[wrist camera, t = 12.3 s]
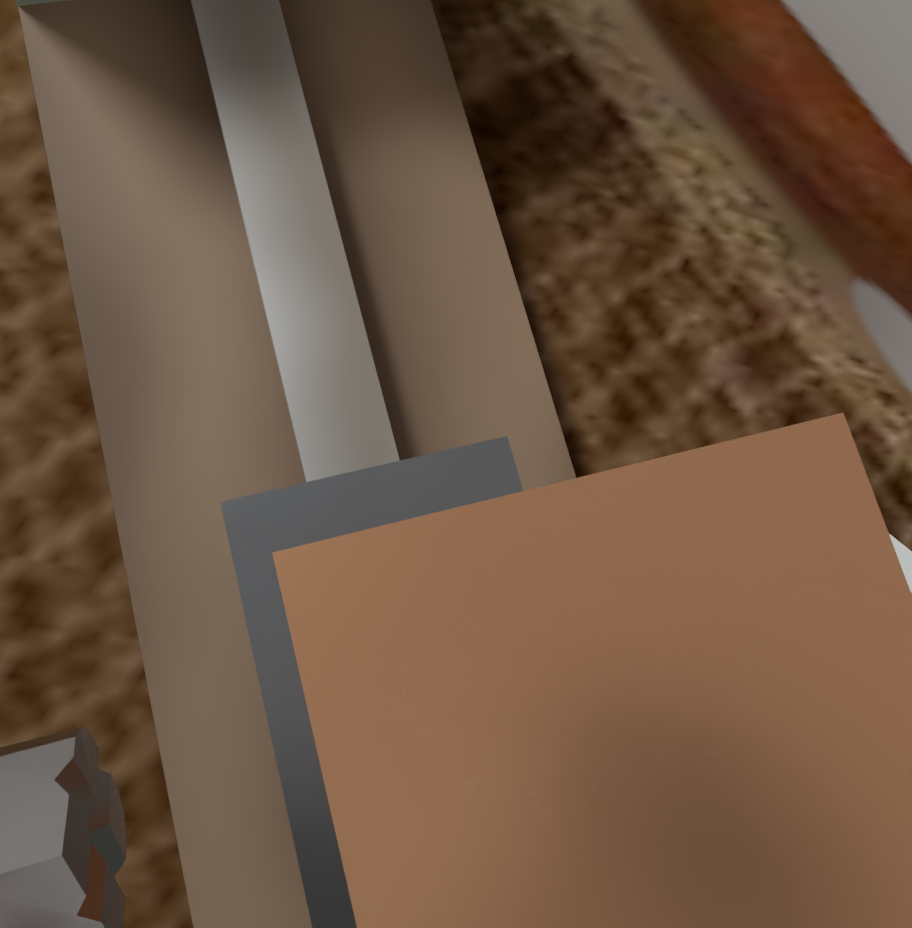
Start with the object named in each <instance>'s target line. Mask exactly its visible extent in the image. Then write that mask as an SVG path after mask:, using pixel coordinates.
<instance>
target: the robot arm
mask: <svg viewBox="0 0 912 928" xmlns="http://www.w3.org/2000/svg"><path fill="white" fill-rule="evenodd" d="M889 536H890V538H891V541H892V544H893V546H894V549H895V552H896V554H897V557H898V560H899V562H900V565H901V568H902V570H903V573H904V576H905V578H906V581H907V584H908V586H909V589H910V592H911V594H912V552H911V551H910V550H909V549H908V548H906V547H905V546H904V545H903V544H901V543H900V542H899V541H898V540H896V539H895V538H894V537H893V536H891V535H890V534H889ZM97 760H98V747H97V745H96V743H95V741H94V740H93V738H92V736H91V734H90V732H89V730H88V729H86V728H77V729H73V730H69V731H65V732H61V733H57V734H53V735H49V736H45V737H41V738H37V739H33V740H29V741H25V742H21V743H17V744H13V745H9V746H5V747H1V748H0V928H123V916H124V895H123V893H122V891H121V890H120V888H119V886H118V884H117V882H116V880H115V878H114V876H115V875H116V873H117V872H118V870H119V869H120V867H121V866H122V864H123V863H124V861H125V860H126V837H127V834H126V826H125V818H124V810H123V805H122V802H121V798H120V795H119V792H118V789H117V786H116V784H115V782H114V780H113V778H112V776H111V774H108V773H106V772H104V771H101V770H99V769H97Z"/></svg>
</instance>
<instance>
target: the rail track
mask: <svg viewBox="0 0 912 928" xmlns="http://www.w3.org/2000/svg"><path fill="white" fill-rule="evenodd" d="M16 2H17V4H18V7H19V13H20V18H21V23H22V28H23V34H24V39H25V44H26V49H27V55H28V60H29V65H30V70H31V76H32V81H33V86H34V91H35V97H36V102H37V107H38V113H39V118H40V123H41V128H42V134H43V139H44V144H45V149H46V155H47V160H48V165H49V170H50V176H51V181H52V186H53V191H54V197H55V202H56V207H57V212H58V218H59V223H60V228H61V233H62V239H63V244H64V249H65V254H66V260H67V265H68V270H69V276H70V281H71V286H72V291H73V297H74V302H75V307H76V312H77V318H78V323H79V328H80V333H81V339H82V344H83V349H84V354H85V360H86V365H87V370H88V375H89V381H90V386H91V391H92V396H93V402H94V407H95V412H96V417H97V423H98V428H99V433H100V439H101V444H102V449H103V454H104V460H105V465H106V470H107V475H108V481H109V486H110V491H111V496H112V502H113V507H114V512H115V517H116V523H117V528H118V533H119V538H120V544H121V549H122V554H123V559H124V565H125V570H126V575H127V580H128V586H129V591H130V596H131V602H132V607H133V612H134V617H135V623H136V628H137V633H138V638H139V644H140V649H141V654H142V659H143V665H144V670H145V675H146V680H147V686H148V691H149V696H150V701H151V707H152V712H153V717H154V722H155V728H156V733H157V738H158V743H159V749H160V754H161V759H162V765H163V770H164V775H165V780H166V786H167V791H168V796H169V801H170V807H171V812H172V817H173V822H174V828H175V833H176V838H177V843H178V849H179V854H180V859H181V864H182V870H183V875H184V880H185V885H186V891H187V896H188V901H189V906H190V912H191V917H192V922H193V927H194V928H312V924H311V919H310V914H309V910H308V905H307V901H306V896H305V891H304V887H303V882H302V877H301V873H300V868H299V864H298V859H297V854H296V850H295V845H294V840H293V836H292V831H291V827H290V822H289V817H288V813H287V808H286V803H285V799H284V794H283V790H282V785H281V780H280V776H279V771H278V767H277V762H276V757H275V753H274V748H273V743H272V739H271V734H270V730H269V725H268V720H267V716H266V711H265V706H264V702H263V697H262V693H261V688H260V683H259V679H258V674H257V669H256V665H255V660H254V656H253V651H252V646H251V642H250V637H249V632H248V628H247V623H246V619H245V614H244V609H243V605H242V600H241V596H240V591H239V586H238V582H237V577H236V572H235V568H234V563H233V559H232V554H231V549H230V545H229V540H228V535H227V531H226V526H225V522H224V517H223V512H222V508H221V503H220V502H222V501H227V500H231V499H235V498H240V497H244V496H248V495H253V494H257V493H261V492H266V491H270V490H274V489H279V488H283V487H287V486H292V485H296V484H300V483H305V482H309V481H313V480H318V479H322V478H326V477H331V476H335V475H340V474H344V473H348V472H353V471H357V470H361V469H366V468H370V467H374V466H379V465H383V464H387V463H392V462H396V461H400V460H405V459H409V458H413V457H418V456H422V455H426V454H431V453H435V452H439V451H444V450H448V449H453V448H457V447H461V446H466V445H470V444H474V443H479V442H483V441H487V440H492V439H496V438H500V437H505V436H507V437H508V440H509V443H510V447H511V450H512V454H513V457H514V461H515V464H516V467H517V471H518V474H519V478H520V481H521V485H522V488H523V491H526V490H530V489H534V488H538V487H542V486H546V485H550V484H554V483H558V482H562V481H566V480H570V479H575V478H576V475H575V472H574V469H573V465H572V462H571V459H570V456H569V452H568V449H567V446H566V442H565V439H564V436H563V433H562V429H561V426H560V423H559V419H558V416H557V413H556V410H555V406H554V403H553V400H552V397H551V393H550V390H549V387H548V383H547V380H546V377H545V374H544V370H543V367H542V364H541V360H540V357H539V354H538V351H537V347H536V344H535V341H534V337H533V334H532V331H531V328H530V324H529V321H528V318H527V315H526V311H525V308H524V305H523V301H522V298H521V295H520V292H519V288H518V285H517V282H516V278H515V275H514V272H513V269H512V265H511V262H510V259H509V255H508V252H507V249H506V246H505V242H504V239H503V236H502V233H501V229H500V226H499V223H498V219H497V216H496V213H495V210H494V206H493V203H492V200H491V196H490V193H489V190H488V187H487V183H486V180H485V177H484V173H483V170H482V167H481V164H480V160H479V157H478V154H477V151H476V147H475V144H474V141H473V137H472V134H471V131H470V128H469V124H468V121H467V118H466V114H465V111H464V108H463V105H462V101H461V98H460V95H459V91H458V88H457V85H456V82H455V78H454V75H453V72H452V69H451V65H450V62H449V59H448V55H447V52H446V49H445V46H444V42H443V39H442V36H441V32H440V29H439V26H438V23H437V19H436V16H435V13H434V9H433V6H432V3H431V0H16Z"/></svg>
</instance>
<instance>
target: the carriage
mask: <svg viewBox="0 0 912 928" xmlns="http://www.w3.org/2000/svg"><path fill="white" fill-rule="evenodd" d="M220 503H221V508H222V512H223V517H224V522H225V526H226V531H227V535H228V540H229V545H230V549H231V554H232V559H233V563H234V568H235V572H236V577H237V582H238V586H239V591H240V596H241V600H242V605H243V609H244V614H245V619H246V623H247V628H248V632H249V637H250V642H251V646H252V651H253V656H254V660H255V665H256V669H257V674H258V679H259V683H260V688H261V693H262V697H263V702H264V706H265V711H266V716H267V720H268V725H269V730H270V734H271V739H272V743H273V748H274V753H275V757H276V762H277V767H278V771H279V776H280V780H281V785H282V790H283V794H284V799H285V803H286V808H287V813H288V817H289V822H290V827H291V831H292V836H293V840H294V845H295V850H296V854H297V859H298V864H299V868H300V873H301V877H302V882H303V887H304V891H305V896H306V901H307V905H308V910H309V914H310V919H311V924H312V928H912V594H911V592H910V589H909V586H908V584H907V581H906V578H905V576H904V573H903V570H902V568H901V565H900V562H899V560H898V557H897V554H896V552H895V549H894V546H893V544H892V541H891V538H890V536H889V533H888V530H887V528H886V525H885V522H884V520H883V517H882V514H881V512H880V509H879V506H878V504H877V501H876V498H875V496H874V493H873V490H872V488H871V485H870V483H869V480H868V477H867V475H866V472H865V469H864V467H863V464H862V461H861V459H860V456H859V453H858V451H857V448H856V445H855V443H854V440H853V437H852V435H851V432H850V429H849V427H848V424H847V421H846V419H845V416H844V413H840V414H836V415H832V416H828V417H824V418H820V419H815V420H811V421H807V422H803V423H799V424H795V425H791V426H787V427H783V428H779V429H775V430H771V431H766V432H762V433H758V434H754V435H750V436H746V437H742V438H738V439H734V440H730V441H726V442H722V443H717V444H713V445H709V446H705V447H701V448H697V449H693V450H689V451H685V452H681V453H677V454H673V455H668V456H664V457H660V458H656V459H652V460H648V461H644V462H640V463H636V464H632V465H628V466H624V467H619V468H615V469H611V470H607V471H603V472H599V473H595V474H591V475H587V476H583V477H579V478H575V479H570V480H566V481H562V482H558V483H554V484H550V485H546V486H542V487H538V488H534V489H530V490H526V491H523V488H522V485H521V481H520V478H519V474H518V471H517V467H516V464H515V461H514V457H513V454H512V450H511V447H510V443H509V440H508V437H507V436H505V437H500V438H496V439H492V440H487V441H483V442H479V443H474V444H470V445H466V446H461V447H457V448H453V449H448V450H444V451H439V452H435V453H431V454H426V455H422V456H418V457H413V458H409V459H405V460H400V461H396V462H392V463H387V464H383V465H379V466H374V467H370V468H366V469H361V470H357V471H353V472H348V473H344V474H340V475H335V476H331V477H326V478H322V479H318V480H313V481H309V482H305V483H300V484H296V485H292V486H287V487H283V488H279V489H274V490H270V491H266V492H261V493H257V494H253V495H248V496H244V497H240V498H235V499H231V500H227V501H222V502H220Z"/></svg>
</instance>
